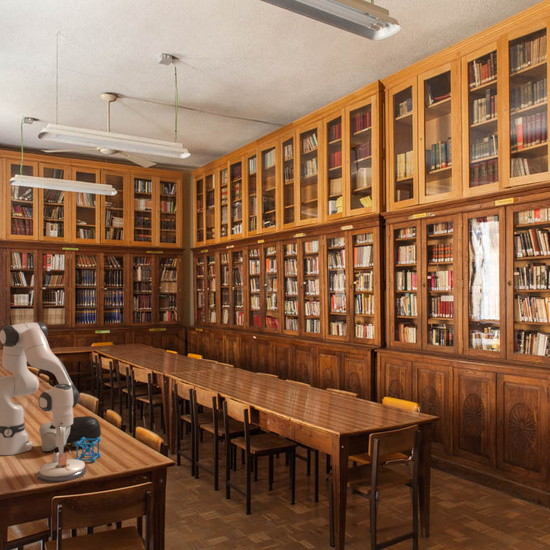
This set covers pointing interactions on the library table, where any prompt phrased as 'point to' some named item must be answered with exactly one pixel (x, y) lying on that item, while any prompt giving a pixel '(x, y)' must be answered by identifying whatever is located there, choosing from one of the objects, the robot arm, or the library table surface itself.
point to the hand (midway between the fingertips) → (62, 451)
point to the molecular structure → (87, 449)
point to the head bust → (78, 429)
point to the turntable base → (61, 477)
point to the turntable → (54, 471)
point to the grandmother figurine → (62, 457)
